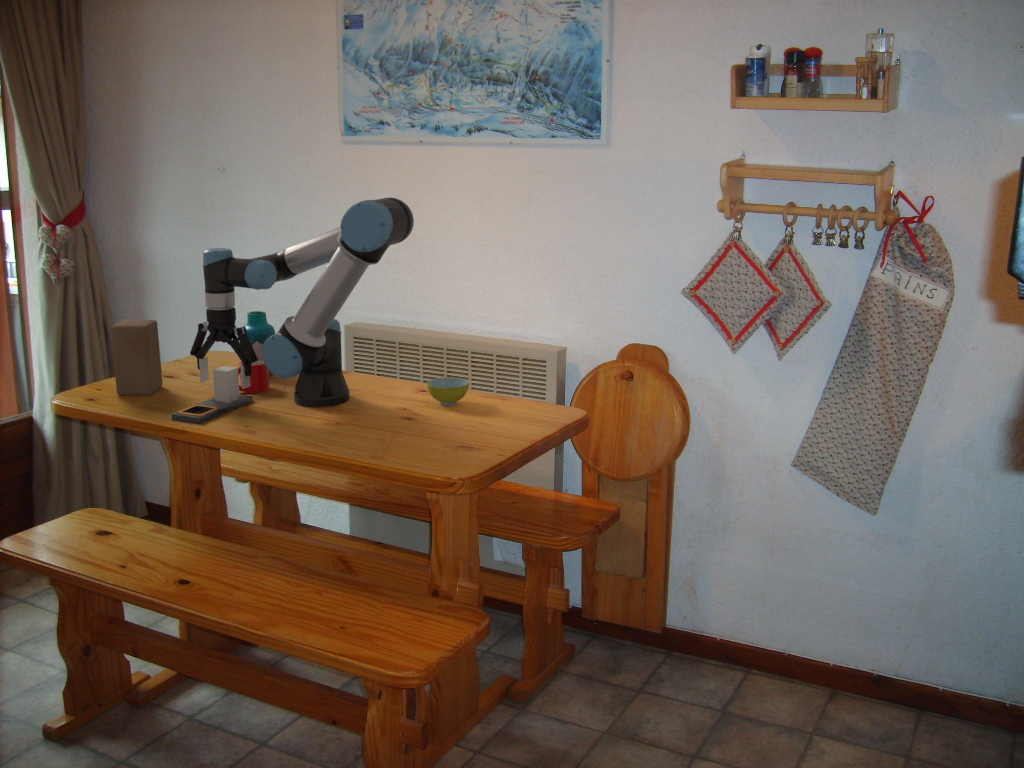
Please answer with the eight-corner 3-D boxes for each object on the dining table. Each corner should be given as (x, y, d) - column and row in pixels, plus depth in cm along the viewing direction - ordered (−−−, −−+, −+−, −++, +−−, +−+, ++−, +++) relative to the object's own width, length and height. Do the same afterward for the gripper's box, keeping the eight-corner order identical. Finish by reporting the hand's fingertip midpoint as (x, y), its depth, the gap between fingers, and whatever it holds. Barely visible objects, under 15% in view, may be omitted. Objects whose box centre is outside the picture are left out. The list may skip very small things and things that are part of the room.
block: (151, 396, 272) (144, 326, 267) (115, 395, 272) (108, 325, 267) (164, 386, 282) (158, 319, 276) (130, 386, 282) (123, 318, 276)
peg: (240, 403, 266) (237, 367, 264) (229, 407, 262) (226, 371, 259) (226, 401, 268) (223, 366, 265) (215, 405, 264) (212, 370, 261)
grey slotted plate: (252, 401, 268) (252, 395, 267) (200, 423, 248) (199, 417, 248) (225, 397, 271) (225, 391, 271) (171, 419, 251) (171, 413, 251)
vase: (285, 373, 297) (282, 311, 292) (259, 380, 289) (255, 317, 284) (260, 368, 303) (257, 307, 298) (234, 375, 294) (230, 313, 289)
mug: (224, 393, 275) (222, 366, 273) (255, 383, 285) (253, 357, 283) (245, 397, 272) (243, 370, 270) (275, 387, 282) (273, 361, 280)
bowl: (420, 401, 269) (420, 380, 267) (457, 396, 274) (457, 375, 273) (438, 412, 259) (437, 389, 258) (476, 406, 265) (476, 384, 263)
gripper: (268, 309, 257) (272, 386, 263) (191, 300, 266) (197, 375, 271) (251, 314, 250) (255, 393, 256) (173, 305, 259) (178, 382, 265)
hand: (225, 384), depth 264 cm, fingers open, 13 cm apart
